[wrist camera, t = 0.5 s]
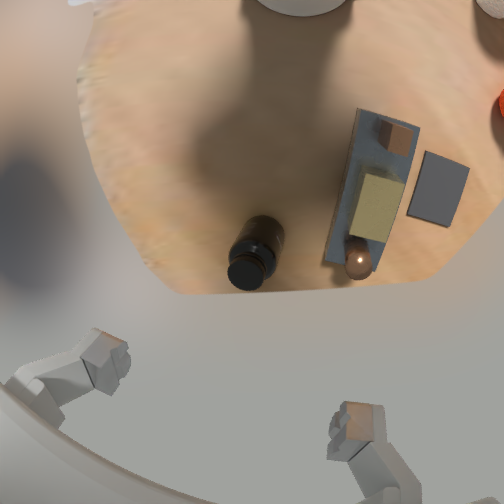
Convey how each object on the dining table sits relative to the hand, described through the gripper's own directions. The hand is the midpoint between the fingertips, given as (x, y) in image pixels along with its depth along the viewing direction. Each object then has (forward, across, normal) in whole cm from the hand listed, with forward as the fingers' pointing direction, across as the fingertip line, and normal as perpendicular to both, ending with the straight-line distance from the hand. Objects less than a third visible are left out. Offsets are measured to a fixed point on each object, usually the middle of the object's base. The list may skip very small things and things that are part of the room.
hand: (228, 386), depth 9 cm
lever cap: (+31, -10, -1) cm, 33 cm away
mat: (+35, -21, -4) cm, 41 cm away
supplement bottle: (+36, +4, +10) cm, 38 cm away
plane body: (+35, -10, -1) cm, 36 cm away
